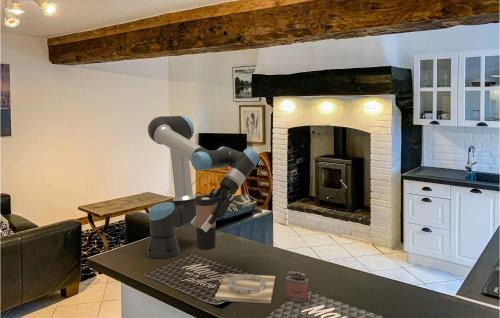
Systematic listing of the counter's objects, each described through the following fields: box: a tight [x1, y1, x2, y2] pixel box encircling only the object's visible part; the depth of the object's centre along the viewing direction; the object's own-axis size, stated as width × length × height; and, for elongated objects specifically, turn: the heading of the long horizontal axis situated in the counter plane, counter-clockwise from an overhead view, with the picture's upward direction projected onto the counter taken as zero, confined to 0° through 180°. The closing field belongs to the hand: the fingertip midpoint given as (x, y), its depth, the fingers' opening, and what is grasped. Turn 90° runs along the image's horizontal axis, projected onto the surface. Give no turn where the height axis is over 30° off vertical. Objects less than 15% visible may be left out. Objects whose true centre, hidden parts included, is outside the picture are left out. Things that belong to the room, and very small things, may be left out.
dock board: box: [214, 273, 276, 305], centre depth 152 cm, size 20×20×2 cm
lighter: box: [285, 270, 309, 303], centre depth 144 cm, size 8×3×10 cm, turn 71°
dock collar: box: [228, 273, 266, 294], centre depth 152 cm, size 14×14×2 cm
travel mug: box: [195, 194, 217, 251], centre depth 157 cm, size 8×8×20 cm
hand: (198, 227), depth 155 cm, fingers closed on travel mug, 7 cm apart
